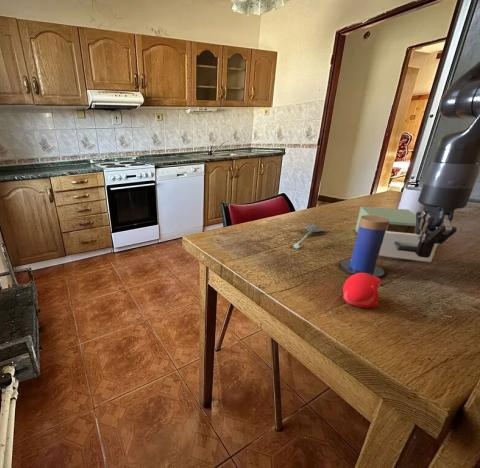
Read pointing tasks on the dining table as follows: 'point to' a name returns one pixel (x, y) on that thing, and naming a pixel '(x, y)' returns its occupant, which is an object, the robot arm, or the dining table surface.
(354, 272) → the coaster
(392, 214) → the cabinet
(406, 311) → the dining table surface
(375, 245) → the spice jar
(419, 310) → the dining table surface
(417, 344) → the dining table surface
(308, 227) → the grey spatula
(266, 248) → the dining table surface
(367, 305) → the cap
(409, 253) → the drawer
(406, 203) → the mug
